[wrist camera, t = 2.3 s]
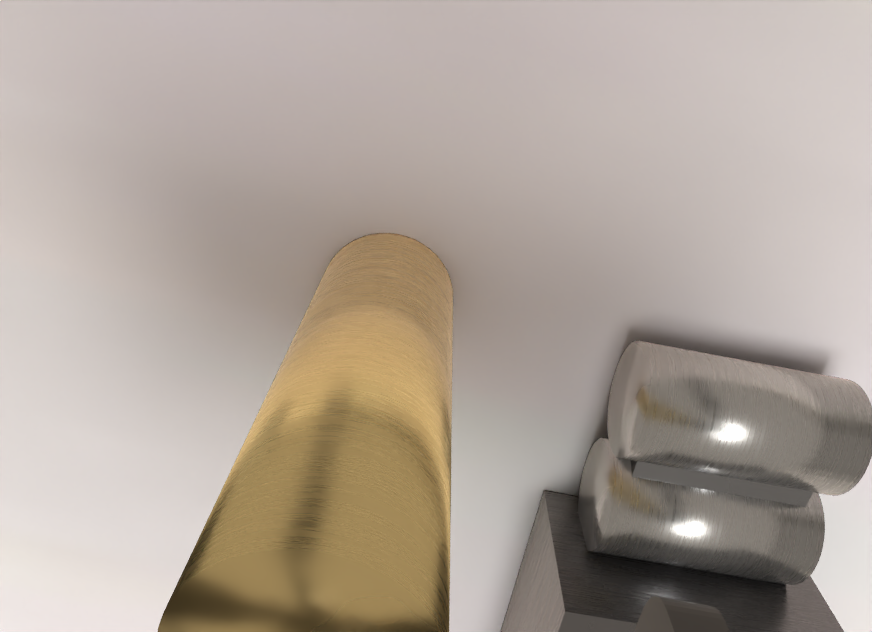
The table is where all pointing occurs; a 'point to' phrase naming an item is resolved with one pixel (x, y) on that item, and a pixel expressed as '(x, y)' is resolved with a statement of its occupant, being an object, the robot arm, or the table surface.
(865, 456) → the dark grey slotted block
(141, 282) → the table surface
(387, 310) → the brass pin
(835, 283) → the table surface
